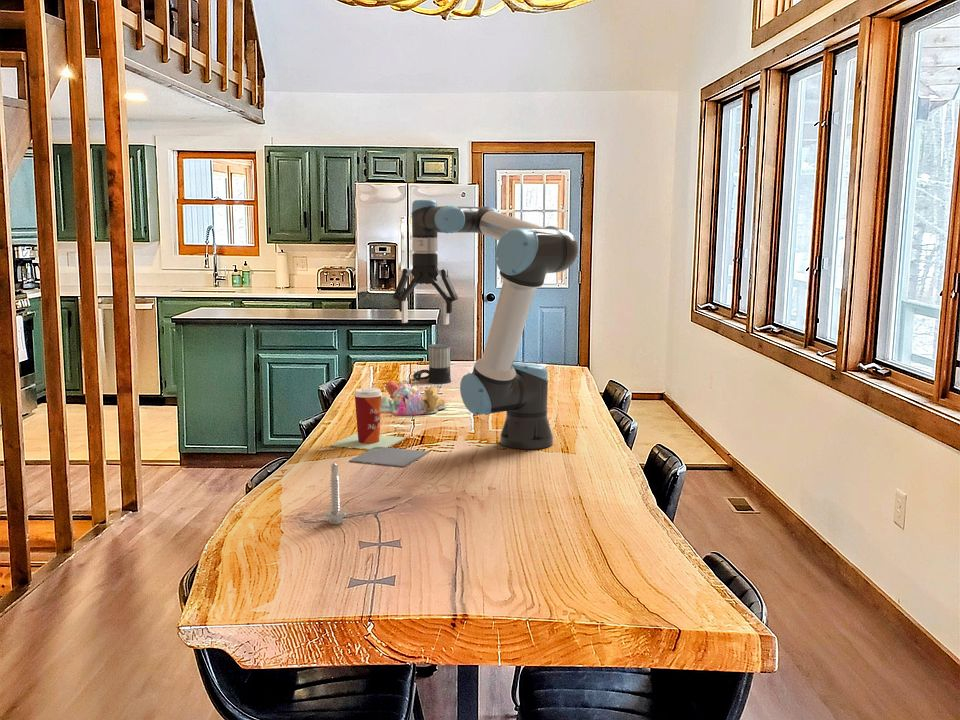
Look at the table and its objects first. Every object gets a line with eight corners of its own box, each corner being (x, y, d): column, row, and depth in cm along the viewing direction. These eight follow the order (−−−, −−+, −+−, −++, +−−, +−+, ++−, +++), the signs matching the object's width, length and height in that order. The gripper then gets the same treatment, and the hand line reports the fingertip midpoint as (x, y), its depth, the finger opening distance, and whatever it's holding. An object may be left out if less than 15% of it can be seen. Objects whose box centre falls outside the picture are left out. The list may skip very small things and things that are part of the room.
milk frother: (450, 384, 356) (450, 346, 354) (410, 383, 356) (410, 346, 354) (452, 378, 370) (452, 342, 368) (414, 377, 371) (413, 342, 368)
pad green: (405, 438, 264) (405, 437, 264) (381, 451, 250) (381, 449, 249) (356, 434, 270) (356, 433, 270) (330, 446, 255) (330, 445, 255)
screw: (319, 523, 189) (336, 517, 193) (334, 528, 186) (352, 522, 190) (317, 463, 187) (335, 458, 191) (333, 467, 184) (350, 462, 188)
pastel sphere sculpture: (449, 403, 319) (449, 377, 317) (441, 417, 295) (441, 389, 294) (380, 402, 321) (379, 376, 319) (366, 416, 297) (366, 388, 296)
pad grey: (428, 452, 248) (428, 451, 248) (404, 467, 233) (404, 465, 233) (376, 447, 253) (376, 446, 253) (349, 461, 238) (349, 460, 238)
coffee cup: (378, 445, 255) (377, 393, 252) (350, 443, 256) (349, 391, 254) (386, 438, 263) (386, 387, 261) (360, 437, 264) (359, 386, 262)
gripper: (381, 252, 269) (382, 323, 272) (459, 253, 260) (459, 326, 264) (392, 251, 276) (393, 320, 279) (468, 252, 267) (468, 323, 271)
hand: (425, 323), depth 271 cm, fingers open, 13 cm apart
